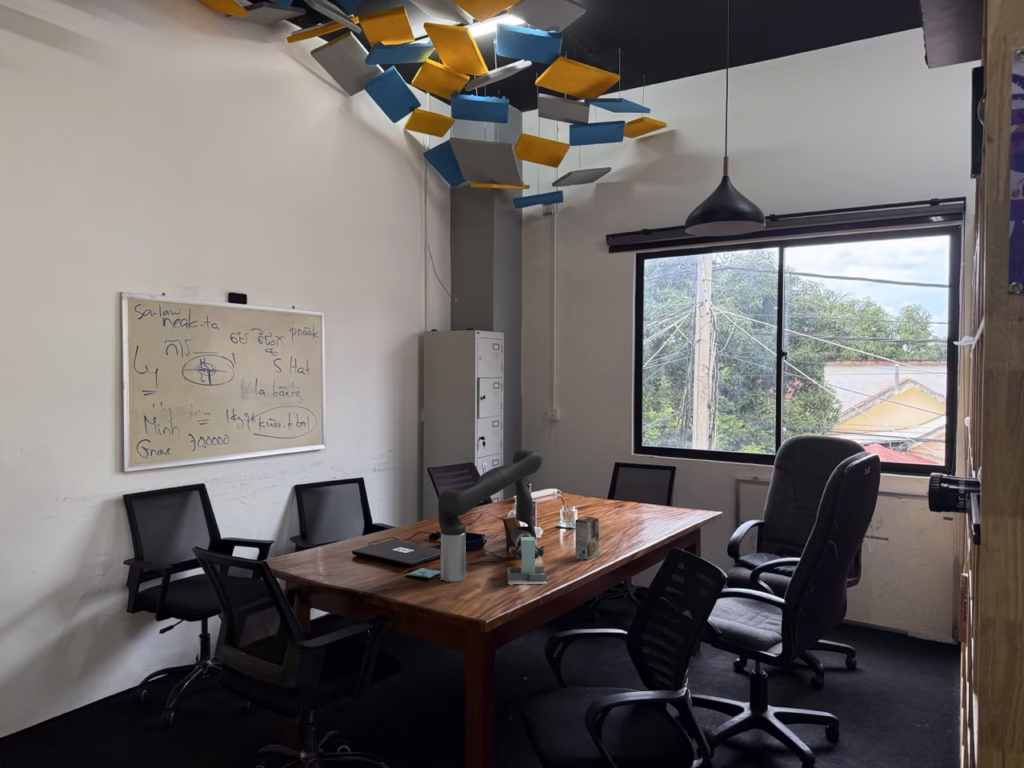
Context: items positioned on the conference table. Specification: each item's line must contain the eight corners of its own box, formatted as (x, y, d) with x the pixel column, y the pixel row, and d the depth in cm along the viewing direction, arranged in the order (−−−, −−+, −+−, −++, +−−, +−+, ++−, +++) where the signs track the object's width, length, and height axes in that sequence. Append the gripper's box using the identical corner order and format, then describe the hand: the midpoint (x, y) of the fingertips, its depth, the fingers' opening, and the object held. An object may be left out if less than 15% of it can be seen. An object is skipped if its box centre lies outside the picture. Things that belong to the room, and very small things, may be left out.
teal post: (521, 577, 246) (521, 540, 246) (520, 573, 251) (520, 537, 251) (535, 577, 246) (535, 540, 246) (534, 573, 251) (534, 537, 251)
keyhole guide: (508, 584, 241) (508, 576, 241) (507, 572, 256) (507, 565, 256) (546, 584, 241) (546, 576, 241) (543, 572, 256) (543, 564, 256)
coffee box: (586, 553, 284) (586, 516, 284) (599, 556, 280) (599, 518, 280) (574, 557, 277) (574, 519, 277) (587, 560, 273) (587, 521, 273)
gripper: (507, 535, 262) (509, 546, 245) (543, 535, 263) (547, 546, 246) (507, 554, 262) (509, 566, 245) (543, 554, 263) (547, 566, 246)
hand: (528, 556), depth 246 cm, fingers closed on teal post, 5 cm apart
